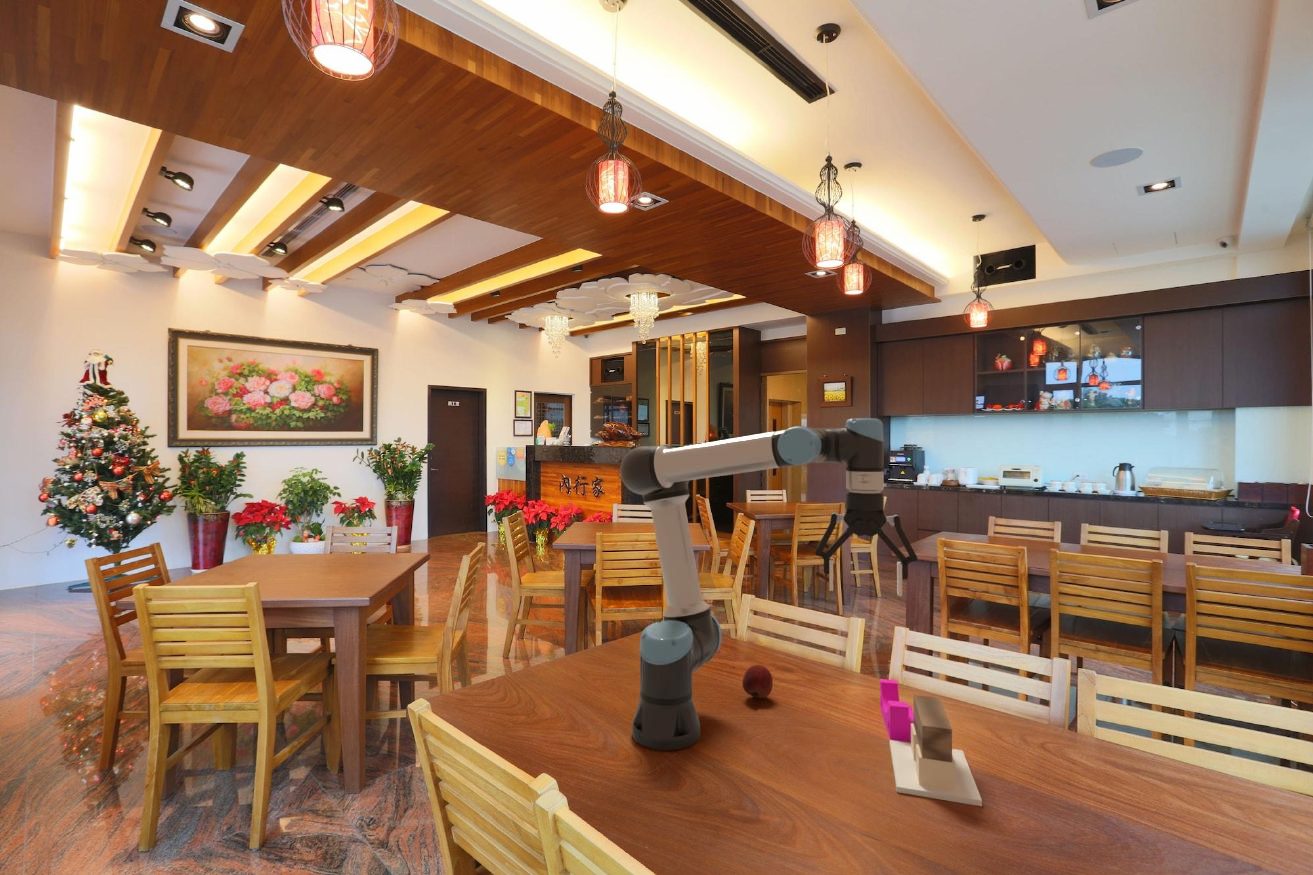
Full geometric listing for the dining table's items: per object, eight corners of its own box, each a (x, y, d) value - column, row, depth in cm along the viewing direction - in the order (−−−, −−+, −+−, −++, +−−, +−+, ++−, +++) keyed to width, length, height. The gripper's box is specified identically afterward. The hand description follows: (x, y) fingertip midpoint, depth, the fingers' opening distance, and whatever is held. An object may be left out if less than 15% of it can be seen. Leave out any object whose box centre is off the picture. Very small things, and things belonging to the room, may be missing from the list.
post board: (896, 791, 108) (896, 759, 109) (889, 744, 126) (889, 716, 126) (982, 806, 104) (982, 772, 104) (962, 755, 121) (962, 725, 121)
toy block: (921, 743, 126) (921, 708, 127) (890, 740, 128) (890, 705, 128) (907, 712, 141) (907, 681, 141) (880, 710, 142) (880, 678, 143)
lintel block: (922, 758, 109) (922, 725, 109) (913, 723, 122) (913, 694, 122) (952, 762, 107) (952, 729, 108) (940, 727, 121) (940, 697, 121)
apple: (779, 698, 148) (779, 666, 148) (756, 706, 144) (756, 673, 144) (758, 688, 154) (758, 658, 154) (736, 695, 150) (736, 664, 150)
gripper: (803, 491, 125) (803, 591, 125) (931, 494, 118) (932, 601, 117) (805, 488, 132) (805, 583, 132) (926, 491, 125) (927, 592, 124)
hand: (864, 592), depth 125 cm, fingers open, 13 cm apart
